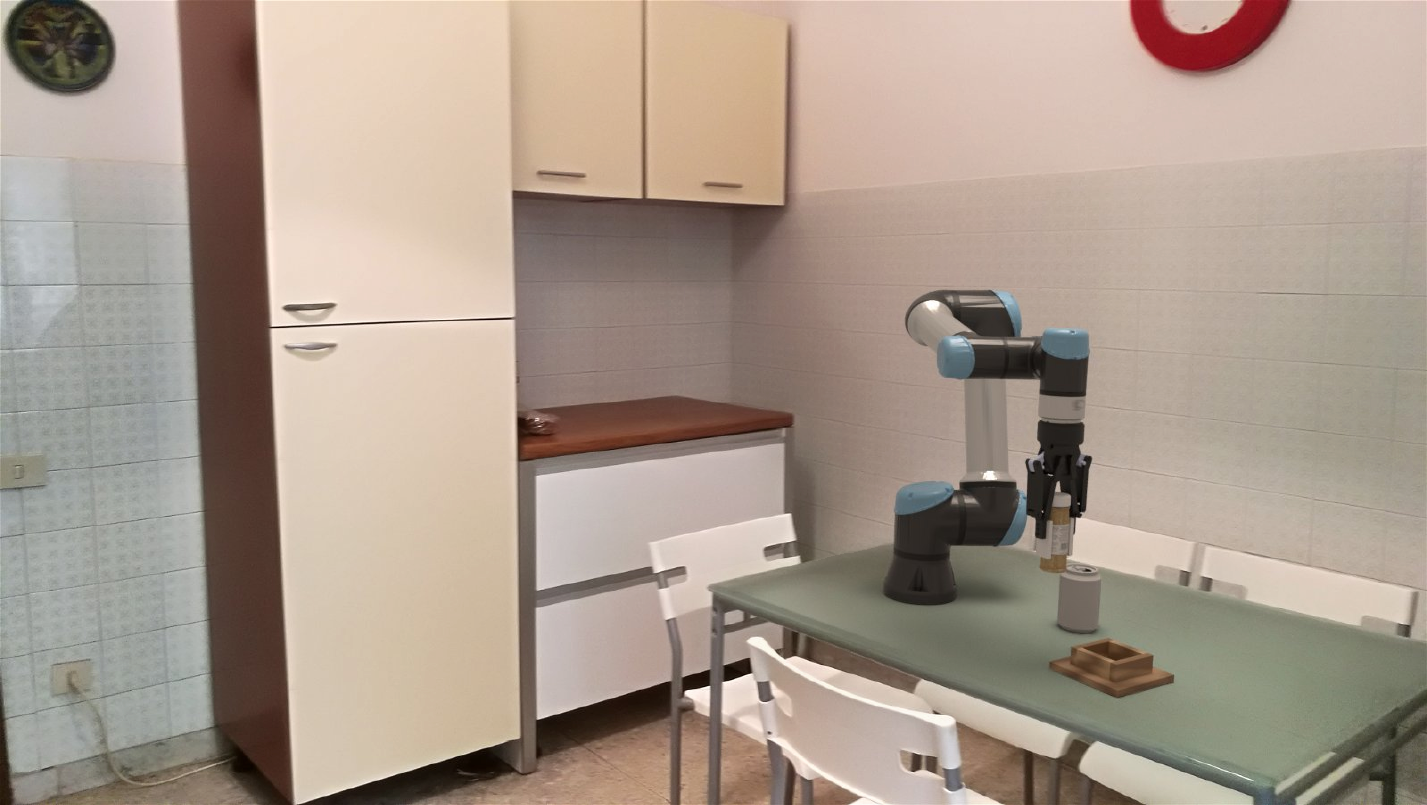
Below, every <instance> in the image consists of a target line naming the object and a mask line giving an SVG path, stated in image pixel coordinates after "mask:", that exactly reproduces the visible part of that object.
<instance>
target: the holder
mask: <svg viewBox="0 0 1427 805" xmlns="http://www.w3.org/2000/svg"><path fill="white" fill-rule="evenodd" d="M1048 668H1049V669H1050V670H1052V671H1054V672H1057V673H1059V674H1061V675H1064V676H1066V677H1069V678H1071V679H1073V680H1075V681H1078V682H1080V683H1082V684H1085V685H1087V686H1089V687H1091V688H1094V689H1096V690H1098V691H1100V692H1103V693H1105V694H1107V695H1110V696H1112V697H1114V698H1116V699H1118V698H1121V697H1125V696H1129V695H1132V694H1136V693H1139V692H1142V691H1146V690H1149V689H1153V688H1156V687H1159V686H1161V687H1162V686H1164V685H1166V684H1171V683H1174V682H1175V674H1173V673H1171V672H1168V671H1166V670H1163V669H1160V668H1159V667H1155V666H1154V654H1152V653H1148V652H1146V651H1145V650H1141V649H1139V648H1136V647H1132V646H1131V645H1128V644H1125V643H1122V642H1120V641H1117V640H1114V639H1111V638H1109V637H1106V638H1102V639H1098V640H1094V641H1088V642H1085V643H1081V644H1076V645H1073V646H1070V656H1065V657H1062V658H1057V659H1054V660H1050V661H1049V662H1048Z"/></svg>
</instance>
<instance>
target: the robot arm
mask: <svg viewBox="0 0 1427 805" xmlns="http://www.w3.org/2000/svg"><path fill="white" fill-rule="evenodd" d="M1022 324H1023V323H1022V313H1021V310H1020V305H1019V304H1018V301H1017V299H1015V297H1014V296H1013V294H1011V293H1010V292H1008V291H1004V290H1003V291H1002V290H993V289H986V290H985V289H981V290H980V289H977V290H976V289H973V290H972V289H960V290H959V289H938V290H937V289H936V290H933V291H929V292H927V293H924V294H922V295H921V296H919V297H918V298H916V299H915V300H914V301H913V302H912V303H911V304H910V305H909V307H908V308H907V310H906V313H905V317H904V326H905V330H906V332H907V334H908V335H909V337H910V338H911V339H912V340H913V341H914V342H915V343H917V344H918V345H920V346H924V347H928V348H929V349H930V350H931V351H932V352H934V353H935V354H936V366H937V369H938V373H939V375H940V376H941V377H943V378H945V379H955V380H959V381H961V380H963V381H964V382H963V384H964V385H963V386H964V393H963V394H964V421H965V422H964V425H965V426H964V427H965V428H964V429H965V431H964V432H965V462H966V463H965V466H966V470H965V471H966V472H965V475H964V476H962V478H961V479H959V481H958V482H959V484H958V485H959V486H958V488H959V489H954V487H953V484H952V483H950V482H947V481H941V480H940V481H939V480H938V481H936V480H928V481H918V482H913V483H909V484H906V485H904V486H901V488H899V489H897V490H898V491H897V492H896V495H895V503H894V509H893V513H894V523H893V524H894V527H893V550H892V551H893V553H892V554H893V555H892V559H891V561H890V564H889V566H888V571H887V574H886V576H885V577H884V580H883V588H882V589H883V594H885V596H887V597H889V598H891V599H892V600H895V601H899V602H903V603H909V604H915V605H941V604H942V605H943V604H947V603H950V602H953V601H955V600H956V599H957V597H958V584H957V582H956V579H955V574H954V571H953V566H952V563H951V557H950V556H951V548H952V546H953V547H993V548H997V547H1004V546H1008V547H1009V546H1014V545H1015V544H1017V543H1018V542H1019V541H1020V540H1021V538H1022V536H1023V534H1024V533H1025V530H1026V526H1027V522H1028V521H1027V520H1028V516H1029V517H1031V518H1033V519H1034V520H1035V524H1034V525H1035V527H1034V536H1035V537H1034V538H1035V539H1036V542H1035V547H1036V548H1035V556H1036V557H1040V558H1041V557H1042V558H1045V559H1051V548H1052V530H1053V521H1051V520H1049V517H1050V513H1051V508H1052V503H1053V499H1054V494H1055V492H1056V489H1057V484H1058V483H1059V489H1060V490H1059V492H1063V493H1067V494H1070V495H1071V505H1070V509H1069V535H1068V552H1067V557H1068V556H1069V557H1072V556H1073V552H1074V551H1073V549H1074V535H1076V534H1075V533H1076V525H1077V524H1076V522H1077V519H1081V518H1082V516H1083V513H1085V512H1086V511H1087V504H1088V491H1089V476H1090V475H1089V473H1090V467H1091V464H1092V461H1093V456H1091V455H1088V454H1084V453H1082V451H1081V448H1080V445H1083V443H1084V442H1085V428H1086V427H1085V426H1086V425H1085V423H1084V422H1083V421H1082V420H1084V419H1085V417H1086V400H1087V388H1088V387H1087V384H1088V374H1089V373H1088V370H1089V357H1090V354H1091V353H1090V352H1091V350H1090V335H1089V332H1088V331H1087V330H1085V329H1083V328H1068V327H1049V328H1046V329H1044V330H1043V331H1042V335H1041V336H1040V335H1038V336H1037V335H1034V336H1022V329H1023V325H1022ZM1007 380H1031V381H1032V380H1033V381H1034V380H1036V381H1039V389H1038V390H1039V391H1038V392H1039V393H1038V394H1039V396H1038V409H1037V410H1038V411H1037V416H1038V417H1039V418H1041V419H1040V420H1038V421H1037V431H1036V439H1037V442H1038V443H1039V444H1040V447H1039V449H1038V452H1037V456H1035V457H1034V458H1026V459H1025V462H1024V464H1025V468H1026V472H1027V476H1026V478H1027V479H1026V493H1025V492H1024V490H1021V489H1018V488H1017V487H1018V486H1017V480H1016V479H1015V478H1014V477H1013V476H1012V475H1011V474H1010V472H1009V446H1008V445H1009V444H1008V443H1009V442H1008V441H1009V440H1008V437H1009V436H1008V412H1007V411H1008V409H1007V408H1008V407H1007V406H1008V405H1007V404H1008V403H1007Z"/></svg>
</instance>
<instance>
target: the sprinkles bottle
mask: <svg viewBox="0 0 1427 805" xmlns="http://www.w3.org/2000/svg"><path fill="white" fill-rule="evenodd" d="M1070 505H1071V495H1070V494H1067V493H1063V492H1061V491H1055V494H1054V499H1053V503H1052V508H1051V513H1050V517H1049V520H1051V521H1053V530H1052V548H1051V559H1045V558H1042V557H1040V561H1039V562H1040V564H1039V565H1038V566H1039V569H1040V571H1043V572H1046V573H1049V574H1060V573H1064V572H1066V571H1067V568H1066V564H1067V561H1068V560H1067V557H1068V555H1067V552H1068V535H1069V509H1070Z"/></svg>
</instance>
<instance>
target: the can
mask: <svg viewBox="0 0 1427 805" xmlns="http://www.w3.org/2000/svg"><path fill="white" fill-rule="evenodd" d="M1066 568H1067V571H1066V572H1064V573H1059V583H1058V597H1057V599H1058V600H1057V601H1058V602H1057V616H1056V618H1057V620H1056V622H1057V623H1058V625H1059V626H1060V627H1061V628H1062V629H1064V630H1066V631H1069V632H1072V633H1078V634H1085V633H1086V634H1087V633H1092V632H1094V631H1095V630H1096V629H1098V628H1099V622H1100V621H1099V620H1100V605H1101V604H1100V603H1101V588H1102V575H1101V574H1100V573H1099V568H1098V567H1096V566H1094V565H1090V564H1086V563H1080V562H1079V563H1078V562H1076V563H1074V562H1070V563H1066Z"/></svg>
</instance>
